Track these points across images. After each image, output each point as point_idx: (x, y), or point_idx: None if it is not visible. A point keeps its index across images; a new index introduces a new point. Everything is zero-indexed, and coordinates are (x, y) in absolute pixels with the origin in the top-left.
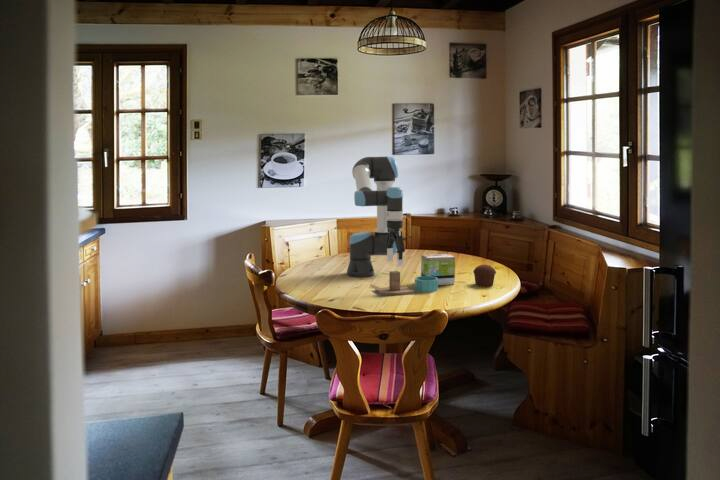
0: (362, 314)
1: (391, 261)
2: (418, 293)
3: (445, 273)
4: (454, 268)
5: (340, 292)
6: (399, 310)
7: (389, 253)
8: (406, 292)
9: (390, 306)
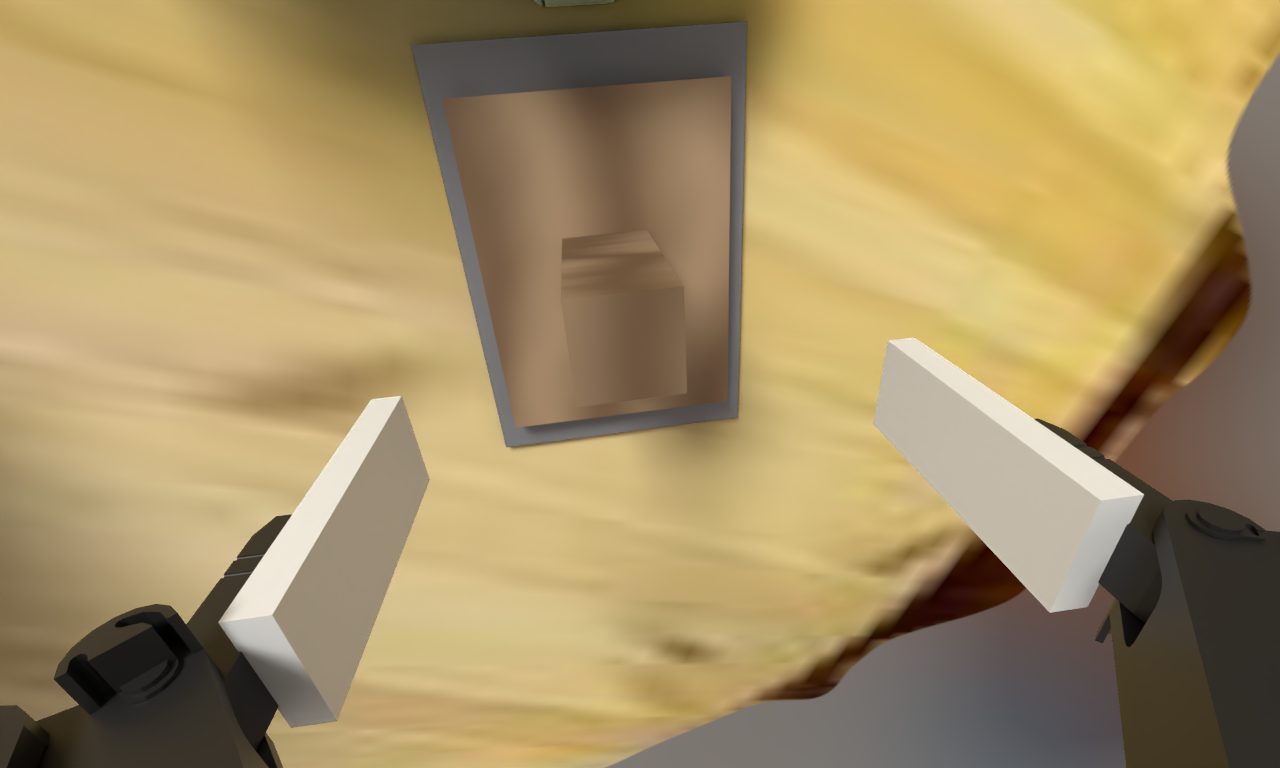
0: None
1: (409, 421)
2: (729, 29)
3: None
4: None
5: (505, 612)
6: (1089, 354)
7: (366, 569)
8: (729, 182)
9: None
